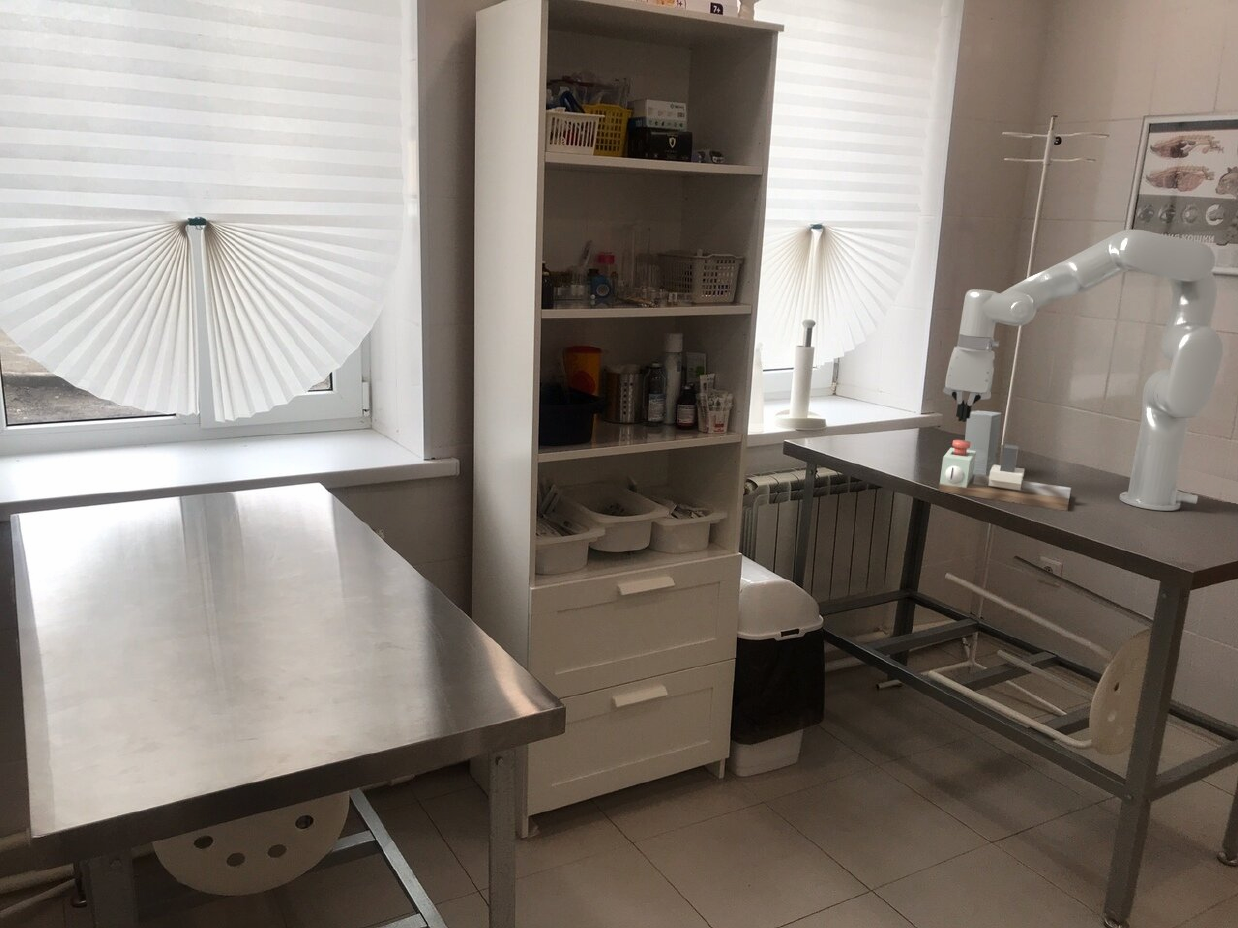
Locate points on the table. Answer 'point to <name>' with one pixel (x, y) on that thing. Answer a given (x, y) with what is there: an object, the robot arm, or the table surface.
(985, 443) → the skincare box
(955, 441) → the red reset button
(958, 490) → the walnut rail board
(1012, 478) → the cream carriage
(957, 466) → the sage gauge cabinet
